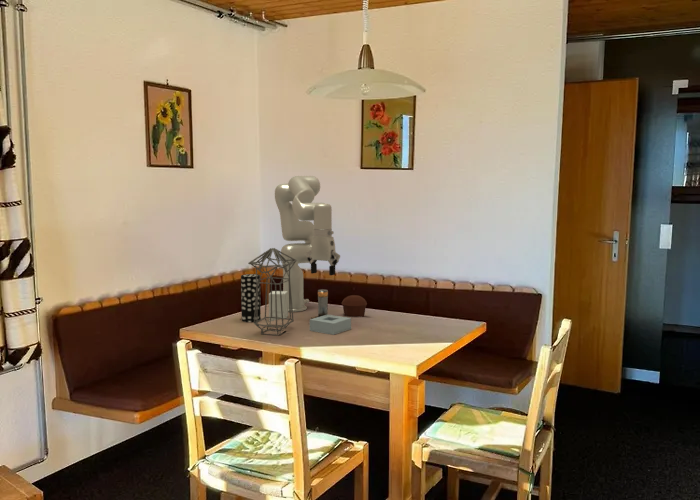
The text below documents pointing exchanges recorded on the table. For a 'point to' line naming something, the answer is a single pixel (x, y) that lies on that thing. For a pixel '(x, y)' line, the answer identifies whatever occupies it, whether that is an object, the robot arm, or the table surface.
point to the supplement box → (278, 305)
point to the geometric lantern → (282, 259)
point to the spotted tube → (249, 297)
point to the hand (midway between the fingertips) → (323, 274)
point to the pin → (322, 302)
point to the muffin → (354, 306)
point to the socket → (330, 324)
